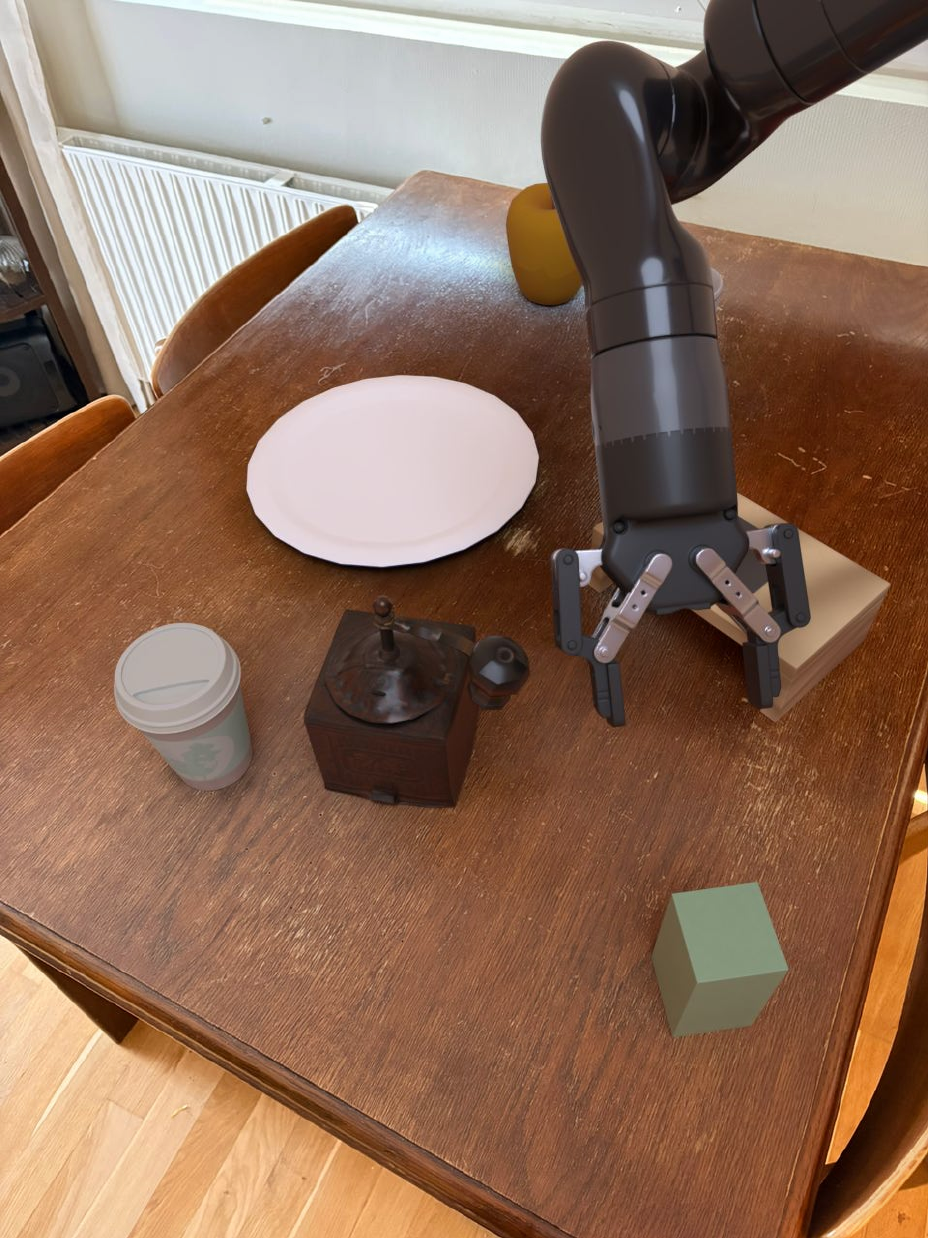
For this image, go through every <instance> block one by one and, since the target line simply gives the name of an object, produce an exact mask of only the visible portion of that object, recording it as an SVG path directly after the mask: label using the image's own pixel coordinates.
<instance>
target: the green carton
mask: <svg viewBox="0 0 928 1238" xmlns="http://www.w3.org/2000/svg"><path fill="white" fill-rule="evenodd" d="M652 950H653V951H652V953H651V956H650V957H651V962H652V967H653V970H654V972H655V978H656V982H657V985H658V989H659V993H660V997H661V1001H662V1005H663V1009H664V1012H665V1016H666V1020H667V1024H668V1028H669V1031H670V1035H671V1038H679V1037H687V1036H693V1035H699V1034H707V1033H714V1032H719V1031H727V1030H734V1029H740V1028H748V1027H751V1026H752V1025H753V1024H754V1022H755V1021H756V1019H757V1018H758V1016H759V1015H760V1014H761V1012H762V1010H763V1009H764V1008H765V1006H766V1004H767V1003H768V1002H769V1000H770V998H771V997H772V995H773V994H774V992H776V989H778V987H779V985H780V984H781V982H782V981H783V979H784V978H785V976H786V975H787V973H788V972H789V971H790V970H789V969H790V968H789V966H788V964H787V961H786V958H785V955H784V952H783V950H782V947H781V944H780V941H779V939H778V935H777V933H776V929H775V927H774V924H773V922H772V918H771V916H770V913H769V910H768V907H767V904H766V902H765V899H764V896H763V893H762V890H761V888H760V885H759V882H758V881H753V882H746V883H738V884H731V885H724V886H723V885H722V886H717V887H716V886H715V887H710V888H704V889H695V890H689V891H688V890H687V891H681V892H674V893H671V895H670V899H669V901H668V904H667V907H666V911H665V914H664V916H663V919H662V922H661V926H660V929H659V932H658V935H657V938H656V941H655V944H654V947H653V949H652Z"/></svg>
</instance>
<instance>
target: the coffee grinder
mask: <svg viewBox="0 0 928 1238" xmlns="http://www.w3.org/2000/svg"><path fill="white" fill-rule="evenodd" d="M371 606H372V608H373V611H374V612H370V611H363V610H357V609H349V608H345V610H344V612H343V613H342V616H341V618H340V620H339V623H338V625H337V627H336V630H335V632H334V634H333V635H334V636H333V637H332V641H331V643H330V645H329V648H328V651H327V653H326V656H325V658H324V661H323V663H322V666H321V668H320V671H319V673H318V676H317V679H316V681H315V683H314V686H313V687H312V688H313V689H312V691H311V693H310V694H311V695H310V697H309V699H308V702H307V705H306V708H305V710H304V714H303V723H304V726H305V728H306V732H307V734H308V738H309V741H310V745H311V748H312V751H313V755H314V757H315V760H316V763H317V766H318V769H319V772H320V774H321V777H322V780H323V784H324V785H323V787H324V790H327V791H332V792H335V793H340V794H345V795H349V796H354V797H357V798H361V799H365V800H370V801H371V802H373V803H377V804H382V805H390V806H391V805H392V806H397V805H405V806H415V807H423V808H455V807H456V805H457V802H458V799H459V795H460V793H461V790H462V788H463V784H464V782H465V779H466V774H467V770H468V766H469V762H470V759H471V754H472V750H473V745H474V741H475V737H476V732H477V727H478V726H477V725H478V718H479V717H478V715H479V708H480V709H481V710H482V711H502V710H503V709H504V708H505V706H507V704H508V703H509V702H510V700H511V696H516V695H518V694H519V692H520V691H521V690H522V688H523V687H524V686H525V684H526V683H527V682H528V680H529V678H530V676H531V669H530V658H529V657H528V654H527V652H526V650H525V649H524V647H523V646H522V645H521V644H519V643H518V642H516V641H515V640H514V639H512V638H511V637H508V636H504V635H501V634H499V635H498V634H497V635H488V636H486V637H484V638H482V639H480V640H479V641H478V642H477V633H476V632H477V631H476V626H475V625H469V624H462V623H461V624H460V623H453V622H446V621H439V620H438V621H437V620H433V619H432V620H431V619H423V618H415V617H407V616H400V615H396V614H395V612H394V611H395V610H393V607H394V604H393V602H392V600H391V599H390V598H389V597H388V596H387V595H379V596H377V597H376V598H375V599H374V600H373V601H372V604H371Z"/></svg>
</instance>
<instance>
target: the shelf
mask: <svg viewBox="0 0 928 1238" xmlns="http://www.w3.org/2000/svg"><path fill="white" fill-rule="evenodd" d="M737 498H738V517H739V520H740V523H741V525H742V527H743V528H744V530H745V531H751V530H756V529H762V528H764V527H765V526H767V525H769V524H775V523H789V522H788V521H786V520H784V519H783V518H781V517H779V516H778V515H776V514H775V513H772V512H771V511H770V510H768V509H766V508H764V507H762V506H761V505H759V504H757V503H756V502H754V501H752V500H751V499H749V498H747V497H746V496H744V495H743V494H741V493H740V492H737ZM797 529H798V532H799V539H800V546H801V553H802V560H803V566H804V573H805V580H806V587H807V594H808V600H809V607H810V614H811V619H810V622H809V624H808V625H807V626H805V627H803V628H795V629H793V630H791V631H790V632H788V633H786V634H784V635H783V636H782V637H781V638H780V640H779V642H778V655H779V666H780V678H781V691H780V694H779V697H773V707H772V708H766V709H759V712H760V713H761V714H762V715H764V717H767V718H768V719H769V720H771V721H772V722H773V723H777V722H778V721H779V720H780V719H781V718H783V716H784V715H786V714H787V713H788V712H789V711H790V710H791V709H792V708H793V707H795V705H796V704H797V703H799V702H800V700H802V699H803V698H804V697H805V696H806V695H807V694H808V693H809V692H811V690H812V689H814V688H815V687H816V686H817V685H818V684H819V683H820V682H821V681H822V680H823V679H825V677H827V676H828V675H829V674H830V673H831V672H832V671H833V670H834V669H835V668H836V667H838V665H840V664H841V663H842V662H843V661H844V660H845V659H846V658H847V657H848V656H849V655H850V654H851V653H852V652H853V651H855V650H856V649H857V648H858V647H859V646H860V645H861V644H862V643H863V642H864V641H865V639H866V637H867V636H868V634H869V631H870V629H871V627H872V624H873V622H874V620H875V619H876V616H877V614H878V612H879V609H880V608H881V606H882V603H883V602H884V599H885V597H886V595H887V592H888V591H889V589H890V587H891V582H888V581H887V580H885V579H883V578H882V577H879V576H878V575H877V574H875V573H874V572H872V571H870V570H868V569H866V568H865V567H863V566H861V565H860V564H859V563H857V562H855V561H854V560H852V559H850V558H848V557H847V556H845V555H843V554H842V553H840V552H839V551H836V550H835V549H833V548H832V547H829V545H826V544H824V543H823V542H822V541H819V540H818V539H817V538H815V537H813V536H811V535H810V534H808V533H806V532H805V531H802V530H801V529H800V528H798V527H797ZM603 533H604V529H603V520H602V521H600V522H598V524H596V525H595V526H593V527H592V533H591V534H592V535H591V544H590V545H591V546H590V550H593V549H599V547H600V545H601V543H602V539H603ZM735 575H736V576H737V577H738V579H739V580H740V581H741V582H742V583H743V584H744V585H745V586H746V587H747V588H748V589H749V590H750V592H751V593H752V594H753V595H754V596H755V597H756V598H757V599H758V603H759V604H760V606H761V607H762V608H763V609H764V610H765V611H766V612H767V613H768V612H770V611H772V606H771V599H770V592H769V586H768V579H767V573H766V566H765V564H763V563H760V562H759V561H758V560H757V559H756V557H755V554H754V552H753V551H752V550H751V549H749V550H748V552H747V554H746V556H745V558H744V560H743V561H742V563H741V565H740V567H739V568H738V570H737V572H736V574H735ZM613 584H614V582H613V581H612V580H611V579H610V578H609V577H608V576H607V575H606V574H605V572H604V571H603V570H602V569H601V568H600V566H598V567H596V568H595V569H594V570H593V572H592V575H591V580H590V582H589V583H588V584H587V586H589V587H591V588H592V589H593V590H595V591H596V592H597V593H599V594H601V593H602V592H604V591H605V590H607V589H608V588H609V587H610V586H612V585H613ZM690 610H691V611H692V612H693V613H695V614H696V615H697V616H699V617H701V619H703V620H705V622H708V623H709V624H710V625H712V626H713V627H715V628H716V629H718V630H719V631H720V632H721V633H723V634H725V635H726V636H727V637H729V638H730V639H732V640H733V641H735V642H736V643H738V644H739V645H740V646H742V642H748V640H747V635H746V634H745V633H744V632H743V631H742V630H741V629H740V627H739V626H738V625H737V624H736V623H735V622H734V621H733V620H732V619H731V618H730V617H729V616H728V615H727V614H726V613H724V612H723V611H722V610H721V609H720V608H719V607H718V606H717V605H716V604H714V605H713V606H711V609H705V610H692V609H690Z"/></svg>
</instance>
